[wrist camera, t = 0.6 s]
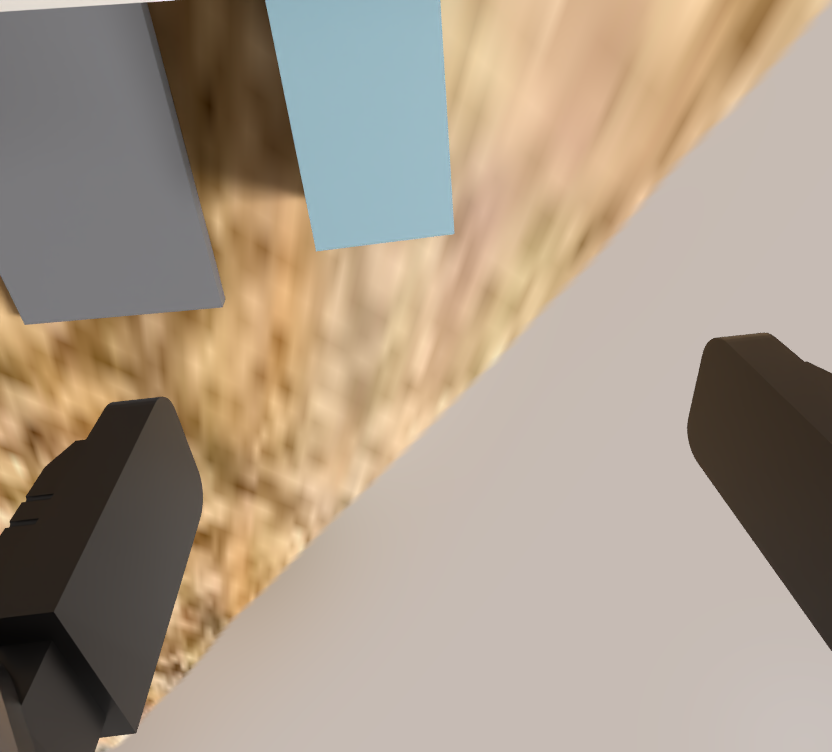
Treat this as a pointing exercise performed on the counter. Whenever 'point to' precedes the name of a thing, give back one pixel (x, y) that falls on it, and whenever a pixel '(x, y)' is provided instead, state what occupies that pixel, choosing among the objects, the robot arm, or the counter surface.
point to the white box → (60, 3)
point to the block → (367, 116)
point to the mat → (95, 171)
